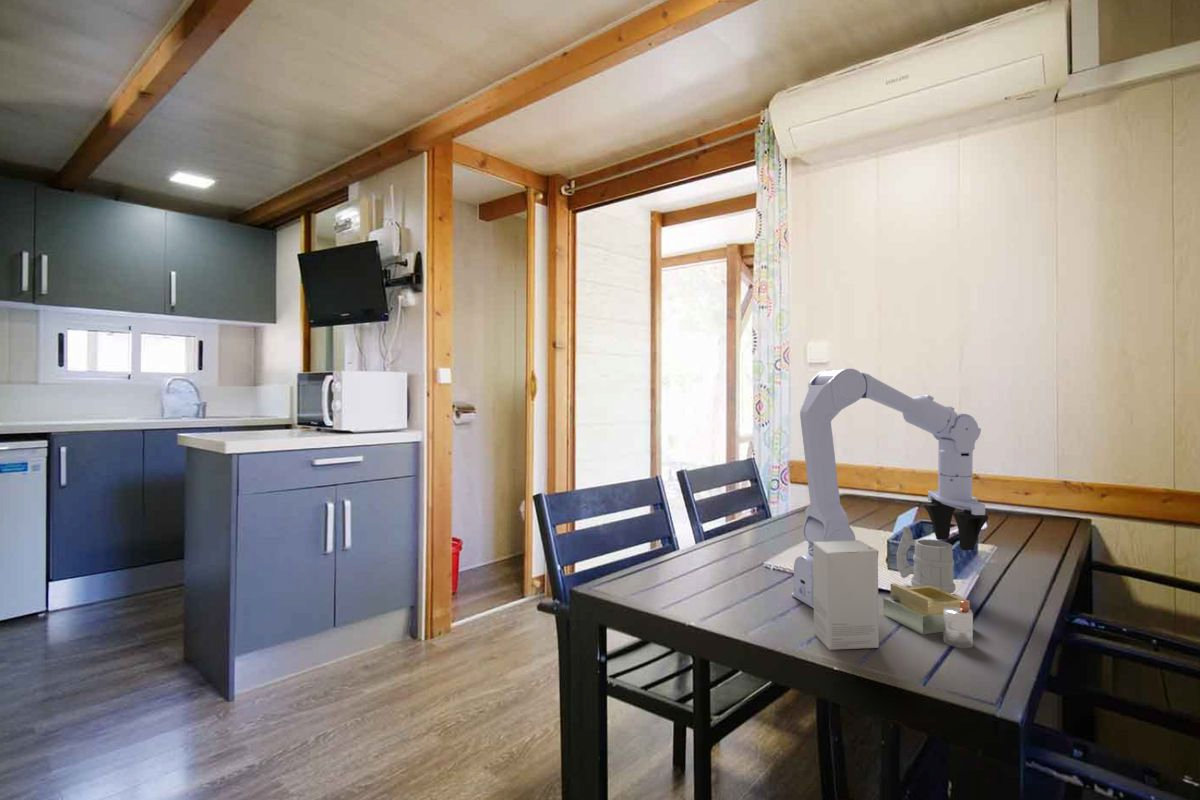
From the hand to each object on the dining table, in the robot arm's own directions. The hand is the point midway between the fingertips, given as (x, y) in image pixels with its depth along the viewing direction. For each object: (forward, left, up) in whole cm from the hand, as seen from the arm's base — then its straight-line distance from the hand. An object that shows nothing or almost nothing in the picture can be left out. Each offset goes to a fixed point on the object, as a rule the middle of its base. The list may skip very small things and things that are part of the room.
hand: (954, 544), depth 116 cm
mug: (-3, +4, -10) cm, 11 cm away
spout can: (-17, -18, -10) cm, 27 cm away
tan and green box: (-15, -9, -10) cm, 20 cm away
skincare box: (-34, -13, -10) cm, 38 cm away
